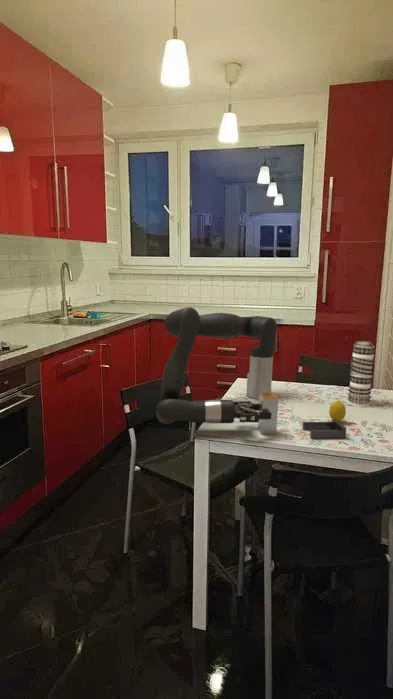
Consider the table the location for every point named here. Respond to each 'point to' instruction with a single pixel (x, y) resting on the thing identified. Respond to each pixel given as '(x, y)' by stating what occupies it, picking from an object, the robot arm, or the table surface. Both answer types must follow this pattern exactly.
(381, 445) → the table surface
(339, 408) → the lemon
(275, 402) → the block
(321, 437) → the channel
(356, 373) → the decorative candle
